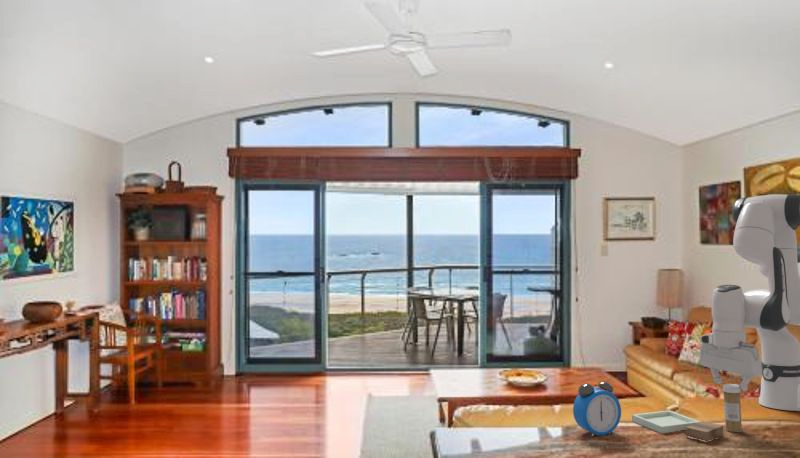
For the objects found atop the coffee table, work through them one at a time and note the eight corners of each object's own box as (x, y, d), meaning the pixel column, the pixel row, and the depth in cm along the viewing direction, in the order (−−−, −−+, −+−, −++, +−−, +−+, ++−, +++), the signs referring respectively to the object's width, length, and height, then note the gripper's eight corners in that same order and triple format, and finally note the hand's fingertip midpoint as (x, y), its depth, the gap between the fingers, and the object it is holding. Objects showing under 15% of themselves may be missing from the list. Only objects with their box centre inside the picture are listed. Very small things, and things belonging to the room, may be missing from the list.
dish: (669, 416, 197) (669, 410, 197) (701, 428, 183) (701, 421, 183) (632, 421, 193) (631, 414, 193) (661, 433, 180) (661, 426, 180)
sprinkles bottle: (744, 430, 180) (742, 384, 181) (739, 433, 177) (737, 387, 177) (727, 427, 183) (725, 382, 184) (722, 430, 180) (720, 385, 181)
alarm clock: (584, 439, 177) (582, 387, 177) (572, 433, 183) (570, 382, 183) (623, 433, 181) (620, 383, 181) (610, 428, 187) (608, 378, 187)
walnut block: (703, 431, 180) (702, 421, 180) (723, 436, 175) (722, 425, 175) (686, 437, 175) (685, 427, 175) (707, 442, 170) (706, 432, 170)
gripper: (767, 344, 172) (768, 393, 171) (712, 335, 191) (713, 379, 191) (748, 345, 170) (750, 395, 170) (695, 336, 190) (696, 380, 189)
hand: (730, 386), depth 180 cm, fingers open, 8 cm apart
